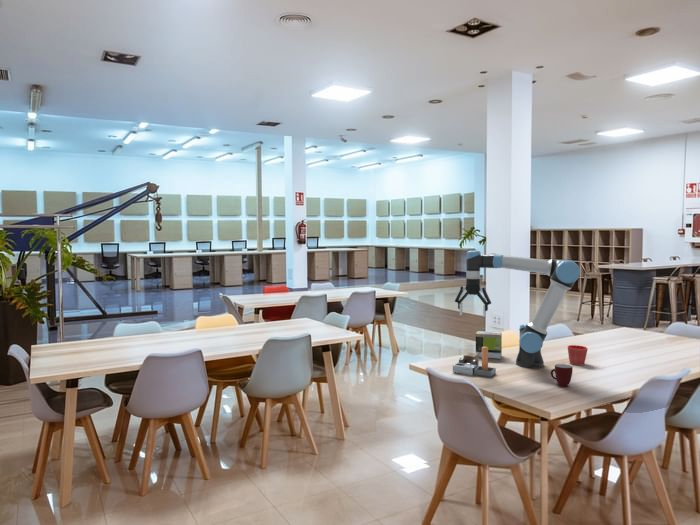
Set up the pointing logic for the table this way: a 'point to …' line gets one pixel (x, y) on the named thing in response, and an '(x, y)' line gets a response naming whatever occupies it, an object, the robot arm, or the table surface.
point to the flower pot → (577, 354)
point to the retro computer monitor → (489, 343)
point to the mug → (562, 374)
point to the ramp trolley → (465, 366)
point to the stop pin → (485, 358)
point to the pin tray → (485, 372)
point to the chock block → (470, 357)
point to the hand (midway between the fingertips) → (472, 315)
